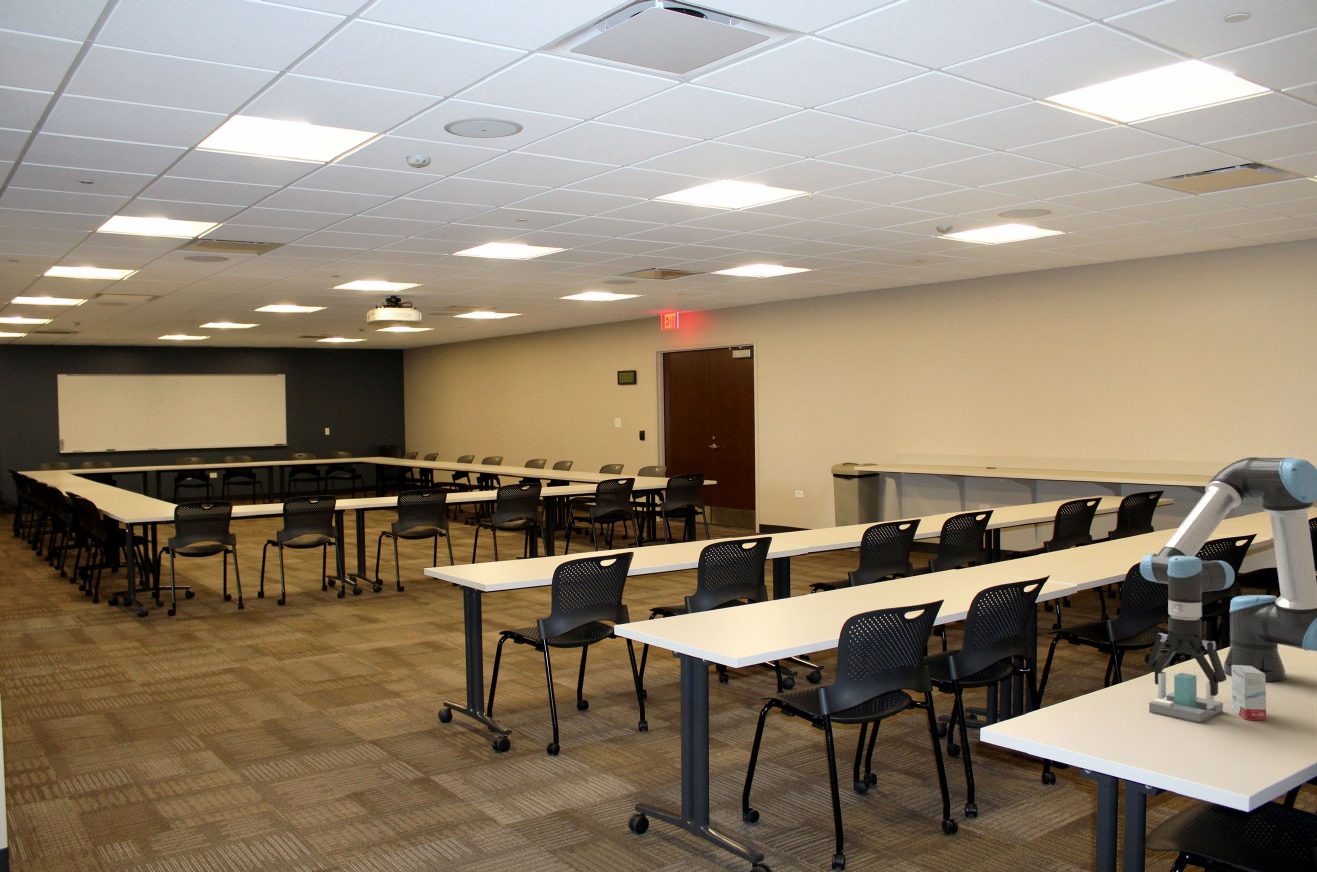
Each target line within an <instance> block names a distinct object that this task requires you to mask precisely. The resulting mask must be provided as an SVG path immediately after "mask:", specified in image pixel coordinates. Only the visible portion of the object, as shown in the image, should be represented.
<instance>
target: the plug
mask: <svg viewBox="0 0 1317 872" xmlns="http://www.w3.org/2000/svg"><path fill="white" fill-rule="evenodd" d="M1173 677H1174V678H1173V680H1174V681H1173V684H1174V685H1173V686H1174V687H1173V688H1174V704H1179V705H1183V706H1188V707H1193V708H1197V697H1198V696H1197V694H1198V693H1197V692H1198V691H1197V689H1198V688H1197V674H1191V673H1185V672H1180V673H1177V674H1175V675H1174V676H1173Z"/></svg>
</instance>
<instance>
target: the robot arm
mask: <svg viewBox="0 0 1317 872" xmlns="http://www.w3.org/2000/svg"><path fill="white" fill-rule="evenodd" d="M1204 490H1205V493H1204V494H1203V496H1202V497H1201V498H1200V499H1199V501H1198V502H1197V503H1196V505H1195V506H1194V507H1193V508H1192V509H1191V511H1190V512H1189V513H1188V515H1187V516H1186V517H1185V518H1184V519H1183V521H1182V522H1181V524H1180V525H1179V526H1178V528H1177V529H1176V530H1175V531H1174V533H1173V534H1172V535H1171V536H1170V538H1169V539H1168V540H1167V542H1166V543H1165V544H1164V546H1163V547H1162V548H1161V549H1160V551H1159V552H1158V553H1148V554H1146V555H1144V556H1143V557H1142V558H1141V561H1140V562H1139V570H1140V574H1141V576H1142V577H1143V578H1144V579H1145V580H1147V581H1150V582H1155V583H1158V584H1167V587H1168V597H1167V599H1168V600H1167V601H1168V605H1167V606H1168V607H1167V610H1168V612H1167V613H1168V615H1169V617H1168V618H1167V619H1168V620H1167V621H1168V624H1167V625H1168V633H1167V634H1165V633H1164V632H1158V633H1156V634H1155V637H1154V638H1155V642H1154V645H1153V648H1152V651H1151V653H1150V656H1149V659H1148V662H1147V663H1146V668H1147V669H1149V670H1152V671H1153V672H1154V684H1155V685H1157V687H1158V688H1157V689H1158V699H1164V698H1167V672H1165V671H1164V669H1165V667H1166V666H1167V665H1168V664H1169V662H1170V661H1171V660H1172V658H1173V657H1174V656H1175V655H1176V653H1177V654H1185V655H1189V656H1192V657H1193V658H1194V660H1195V661H1196V662H1197V664H1198V666H1199V667H1200V668H1201V670H1202V671H1203V673H1204V675H1205V676H1206V678H1207V680H1208V681H1207V682H1205V683H1206V690H1205V692H1206V694H1205V695H1206V696H1205V697H1206V698H1205V699H1206V703H1207V709H1211V708H1213V707H1214V701H1215V697H1216V696H1218V694H1219V683H1224V682H1225V681H1227V676H1226V675H1228V676H1230V677H1232V665H1242V666H1252V667H1254V668H1256V669H1257V670H1259V671H1261V672H1262V673H1264V674H1265V678H1266V682H1280V681H1284V680H1285V679H1286V669H1285V666H1284V664H1283V661H1282V658H1281V656H1280V653H1279V647H1278V646H1279V645H1283V646H1286V647H1291V648H1295V649H1301V650H1304V651H1307V652H1308V651H1312V652H1317V577H1316V576H1317V575H1316V568H1315V560H1314V551H1313V545H1312V544H1313V543H1312V538H1311V530H1310V529H1311V528H1310V523H1309V514H1308V513H1309V511H1310V510H1311V509H1312V508H1313V506H1314V502H1316V501H1317V467H1315V465H1313V464H1312V463H1311V462H1310V461H1308V460H1307V459H1300V458H1293V457H1257V456H1256V457H1245V458H1241V459H1239V460H1236V461H1234V462H1232V463H1230V464H1229V465H1227V466H1225V467H1224V468H1222V469H1221V470H1220V471H1218V472H1217V473H1215V475H1214V476H1213V477H1212V478H1211V479H1210V481H1208V483H1207V484H1206V485H1205V488H1204ZM1249 499H1254V500H1261V504H1262V505H1261V506H1262V509H1263V511H1265V512H1267V513H1268V514H1269V516H1270V525H1271V531H1272V533H1271V534H1272V539H1273V547H1274V552H1275V553H1274V554H1275V560H1276V561H1275V563H1276V570H1277V576H1278V583H1279V592H1280V595H1279V597H1277V596H1275V595H1269V594H1266V595H1265V594H1255V595H1254V594H1251V595H1250V594H1249V595H1238V596H1235V597H1233V598H1232V599H1231V600H1230V606H1229V607H1230V608H1229V618H1230V619H1229V622H1230V625H1229V626H1230V627H1229V628H1230V634H1229V635H1230V647H1229V649H1228V652H1227V655H1226V657H1225V659H1224V663H1223V665H1222V662H1221V659H1220V657H1219V653H1218V651H1217V641H1216V640H1212V641H1211V640H1210V641H1209V640H1204V638H1203V620H1202V619H1201V618H1202V617H1203V602H1202V601H1203V597H1202V595H1203V593H1204V592H1212V591H1218V592H1219V591H1221V590H1225V589H1228V588H1230V587H1231V586H1232V585H1233V583H1234V582H1235V571H1234V569H1233V567H1232V566H1231V565H1230V564H1229V563H1228V562H1226V561H1223V560H1215V559H1213V560H1210V561H1209V560H1202V559H1201V557H1197V556H1196V555H1197V554H1198V552H1199V551H1200V550H1201V549H1202V547H1203V546H1204V545H1205V543H1206V542H1207V541H1209V540H1208V539H1209V538H1210V537H1211V536H1212V535H1213V533H1214V532H1215V531H1216V529H1217V528H1218V527H1219V525H1220V524H1221V523H1222V521H1223V520H1224V519H1225V518H1226V516H1227V515H1228V514H1229V512H1230V511H1231V510H1232V509H1235V508H1237V507H1239V506H1240V505H1241V503H1242V502H1243V501H1245V500H1249ZM1167 641H1168V643H1169V644H1170V646H1169V647H1168V649H1167V650H1166V652H1165V654H1164V655H1163V656H1162V657H1161V659H1160V661H1159V662H1158V660H1159V658H1160V655H1161V652H1162V650H1163V647H1164V645H1165V642H1167ZM1203 646H1204V649H1205V650H1206V651H1207V655H1208V657H1209V661H1210V663H1211V665H1210V663H1209V661H1208V660H1207V658H1206V657H1205V655H1204V652H1203V651H1202V647H1203Z"/></svg>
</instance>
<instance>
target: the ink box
mask: <svg viewBox="0 0 1317 872" xmlns="http://www.w3.org/2000/svg"><path fill="white" fill-rule="evenodd" d="M1266 682H1267V681H1266V678H1265V674H1264V673H1262V672H1261V671H1259V670H1257V669H1256V668H1254V667H1252V666H1242V665H1232V676H1231V710H1232V711H1233V712H1235V713H1236V714H1237V715H1239V716H1240V717H1242V718H1243V719H1245V720H1247V721H1267V696H1266V695H1267V691H1266V690H1267V689H1266V688H1267V687H1266V685H1267V683H1266Z"/></svg>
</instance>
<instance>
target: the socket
mask: <svg viewBox="0 0 1317 872" xmlns="http://www.w3.org/2000/svg"><path fill="white" fill-rule="evenodd" d="M1223 707H1224V703H1223V701H1218V700H1214V707H1213V708H1211V709H1207V703H1206V698H1202V697H1198V696H1197V708H1193V707H1188V706H1183V705H1179V704H1174V692H1171V693H1169V694H1166V699H1164V698H1162V699H1159V698H1156V699H1154V700H1152V701H1150V702H1148V708H1149V709H1148V710H1149V713H1152V714H1156V715H1161V716H1166V717H1170V718H1174V719H1179V720H1182V721H1183V720H1184V721H1189V722H1192V723H1197V724H1201V723H1203V722H1205V721H1207V720H1209V719H1211V718H1214V717H1215V716H1217V715H1219V714H1221V713H1223V712H1224V711H1223V710H1224V708H1223Z"/></svg>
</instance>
